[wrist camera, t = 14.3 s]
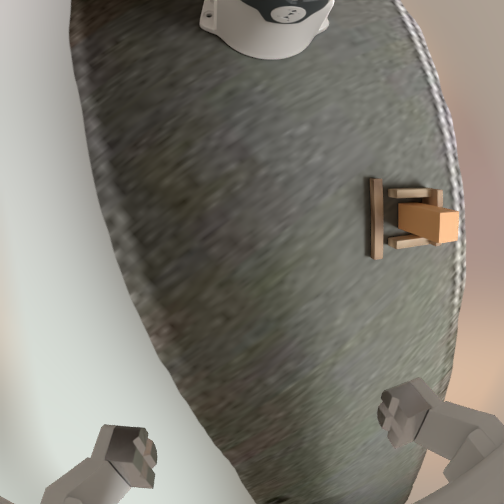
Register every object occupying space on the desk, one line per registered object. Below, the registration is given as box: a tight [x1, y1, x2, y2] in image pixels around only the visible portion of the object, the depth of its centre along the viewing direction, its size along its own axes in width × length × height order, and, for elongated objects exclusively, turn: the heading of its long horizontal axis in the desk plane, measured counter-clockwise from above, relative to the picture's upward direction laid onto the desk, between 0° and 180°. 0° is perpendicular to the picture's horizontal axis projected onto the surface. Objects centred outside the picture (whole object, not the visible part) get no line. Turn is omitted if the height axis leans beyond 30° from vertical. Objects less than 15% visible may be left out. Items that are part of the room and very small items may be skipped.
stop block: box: [398, 202, 459, 243], centre depth 35 cm, size 4×4×10 cm
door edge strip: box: [370, 178, 383, 260], centre depth 39 cm, size 12×2×1 cm, turn 6°
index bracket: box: [388, 188, 443, 249], centre depth 38 cm, size 9×8×4 cm
